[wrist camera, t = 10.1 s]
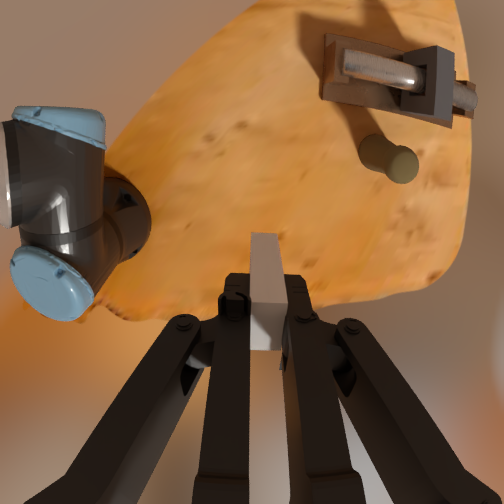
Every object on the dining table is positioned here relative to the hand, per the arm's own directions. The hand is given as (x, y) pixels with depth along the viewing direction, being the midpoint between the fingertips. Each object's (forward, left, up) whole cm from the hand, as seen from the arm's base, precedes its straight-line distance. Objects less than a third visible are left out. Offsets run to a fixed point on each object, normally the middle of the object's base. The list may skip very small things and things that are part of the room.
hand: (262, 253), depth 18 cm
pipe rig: (+21, +16, -29) cm, 40 cm away
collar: (+23, +16, -28) cm, 40 cm away
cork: (+19, +3, -30) cm, 35 cm away
